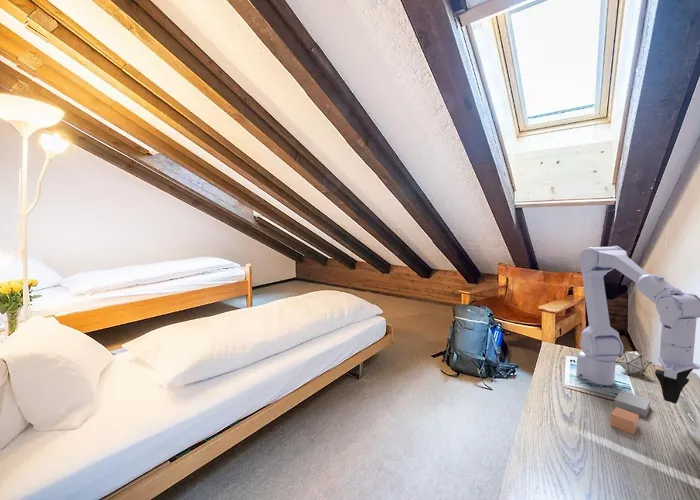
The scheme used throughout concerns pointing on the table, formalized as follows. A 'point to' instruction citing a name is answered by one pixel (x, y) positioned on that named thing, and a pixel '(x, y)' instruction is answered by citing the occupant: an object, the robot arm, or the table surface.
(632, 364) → the beige geometric polyhedron
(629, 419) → the terracotta block
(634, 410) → the slate slab
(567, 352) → the table surface
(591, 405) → the table surface
